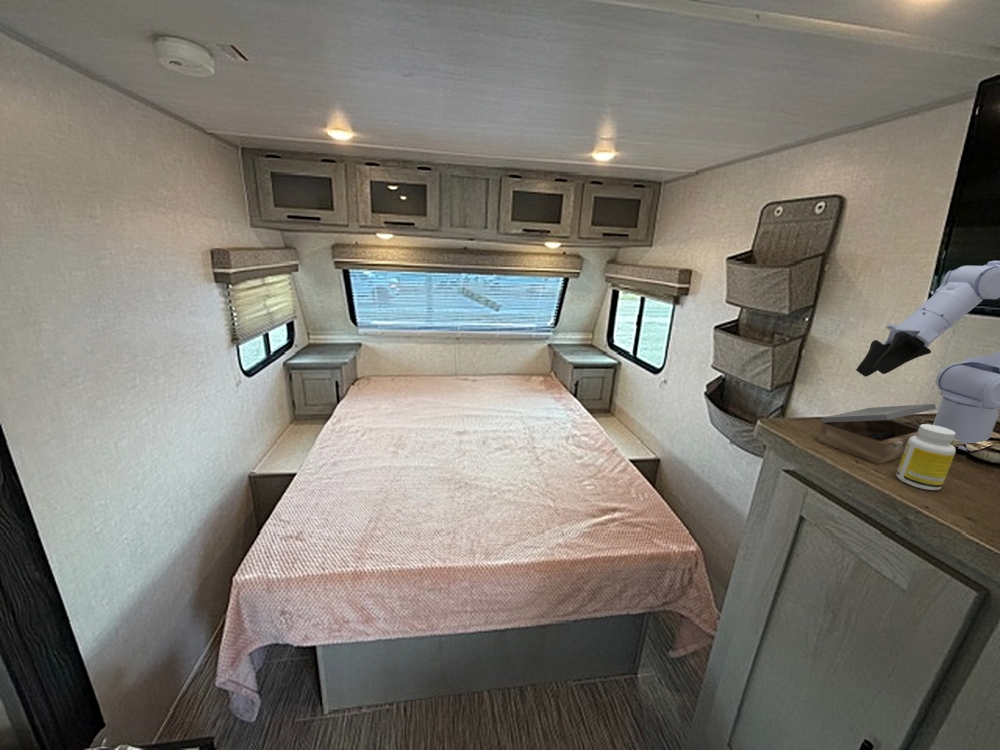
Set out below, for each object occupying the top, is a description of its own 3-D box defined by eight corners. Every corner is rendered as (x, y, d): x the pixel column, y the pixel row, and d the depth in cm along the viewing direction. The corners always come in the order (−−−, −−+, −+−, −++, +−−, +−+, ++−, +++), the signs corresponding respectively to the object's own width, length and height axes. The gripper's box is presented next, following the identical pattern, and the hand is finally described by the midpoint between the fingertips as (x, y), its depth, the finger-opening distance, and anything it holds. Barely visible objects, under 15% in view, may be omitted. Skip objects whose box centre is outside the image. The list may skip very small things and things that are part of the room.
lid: (870, 412, 86) (869, 407, 86) (936, 408, 76) (934, 403, 76) (822, 422, 80) (821, 417, 80) (887, 420, 70) (885, 414, 70)
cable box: (864, 429, 87) (869, 413, 86) (928, 451, 77) (935, 432, 76) (818, 440, 81) (823, 422, 80) (880, 465, 72) (887, 445, 71)
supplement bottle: (950, 493, 63) (973, 437, 61) (911, 489, 64) (931, 434, 62) (923, 475, 68) (943, 423, 66) (887, 472, 70) (904, 420, 67)
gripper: (891, 314, 83) (836, 361, 86) (933, 297, 69) (866, 354, 73) (925, 336, 80) (867, 384, 84) (975, 322, 67) (904, 380, 70)
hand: (869, 372), depth 78 cm, fingers open, 7 cm apart
